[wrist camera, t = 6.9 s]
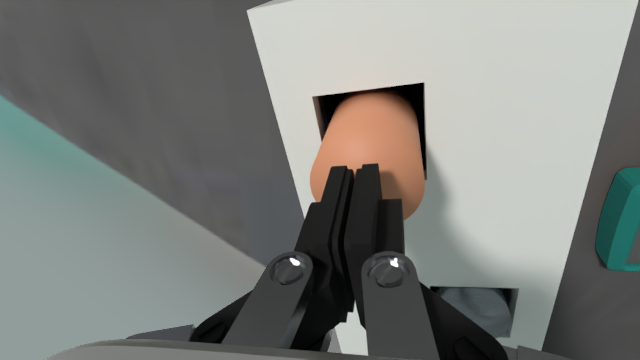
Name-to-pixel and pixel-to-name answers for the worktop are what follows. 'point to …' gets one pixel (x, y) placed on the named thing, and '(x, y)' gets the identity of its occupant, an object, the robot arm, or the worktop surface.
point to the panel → (463, 125)
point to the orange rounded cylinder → (374, 145)
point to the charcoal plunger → (480, 306)
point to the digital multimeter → (621, 223)
